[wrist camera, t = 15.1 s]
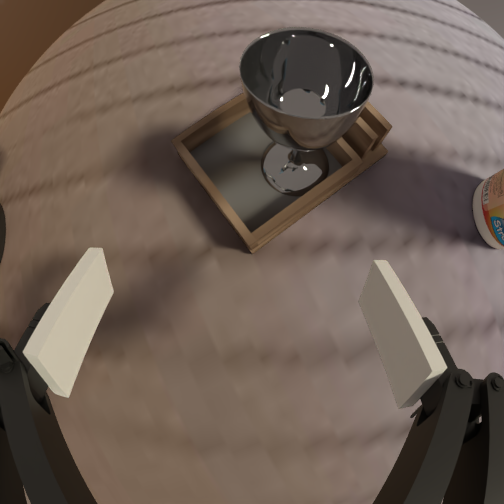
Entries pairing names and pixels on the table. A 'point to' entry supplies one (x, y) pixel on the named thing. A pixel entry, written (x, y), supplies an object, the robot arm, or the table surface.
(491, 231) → the fruit juice
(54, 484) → the robot arm
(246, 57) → the silver goblet
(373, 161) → the wooden tray
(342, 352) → the table surface
